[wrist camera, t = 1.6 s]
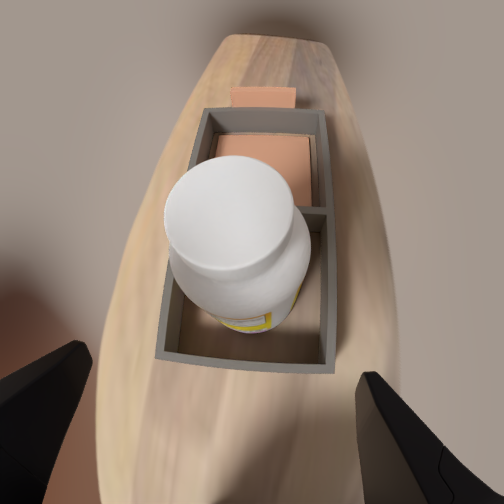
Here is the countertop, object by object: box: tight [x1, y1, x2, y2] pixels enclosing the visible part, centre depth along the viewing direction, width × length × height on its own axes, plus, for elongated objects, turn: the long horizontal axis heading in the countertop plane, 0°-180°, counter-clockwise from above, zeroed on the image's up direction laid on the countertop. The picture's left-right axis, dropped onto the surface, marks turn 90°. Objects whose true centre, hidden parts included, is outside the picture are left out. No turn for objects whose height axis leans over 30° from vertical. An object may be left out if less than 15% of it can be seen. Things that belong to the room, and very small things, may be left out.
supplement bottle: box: [164, 155, 311, 333], centre depth 16 cm, size 7×7×13 cm
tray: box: [155, 87, 337, 374], centre depth 21 cm, size 24×12×5 cm, turn 176°
